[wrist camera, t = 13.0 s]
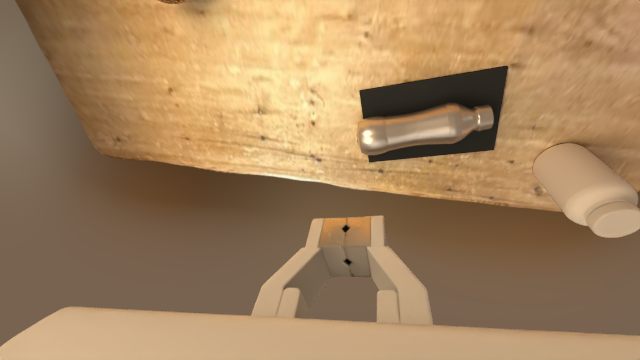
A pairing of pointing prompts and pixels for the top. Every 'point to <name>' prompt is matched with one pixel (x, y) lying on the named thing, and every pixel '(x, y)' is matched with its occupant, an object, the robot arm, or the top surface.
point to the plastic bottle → (422, 127)
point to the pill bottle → (588, 190)
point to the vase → (172, 1)
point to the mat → (435, 92)
